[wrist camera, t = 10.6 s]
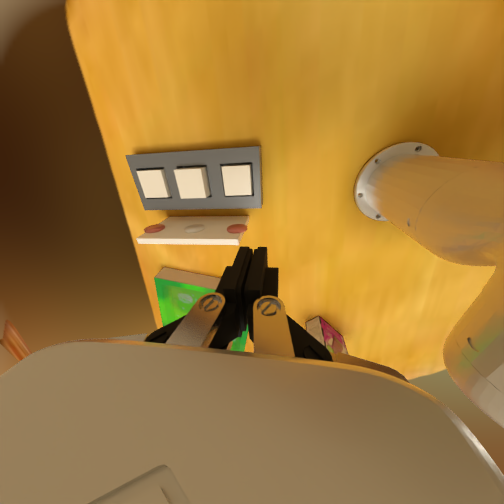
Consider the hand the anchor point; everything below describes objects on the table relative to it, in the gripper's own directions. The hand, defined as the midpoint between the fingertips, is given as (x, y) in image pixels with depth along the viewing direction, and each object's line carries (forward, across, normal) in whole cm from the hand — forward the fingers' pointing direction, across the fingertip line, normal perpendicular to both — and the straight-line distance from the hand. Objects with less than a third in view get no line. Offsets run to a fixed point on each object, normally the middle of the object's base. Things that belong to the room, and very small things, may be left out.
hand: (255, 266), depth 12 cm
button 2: (+27, +22, -1) cm, 35 cm away
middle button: (+25, +14, -1) cm, 29 cm away
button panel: (+27, +14, 0) cm, 31 cm away
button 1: (+26, +6, -1) cm, 27 cm away
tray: (+28, +19, +35) cm, 48 cm away
